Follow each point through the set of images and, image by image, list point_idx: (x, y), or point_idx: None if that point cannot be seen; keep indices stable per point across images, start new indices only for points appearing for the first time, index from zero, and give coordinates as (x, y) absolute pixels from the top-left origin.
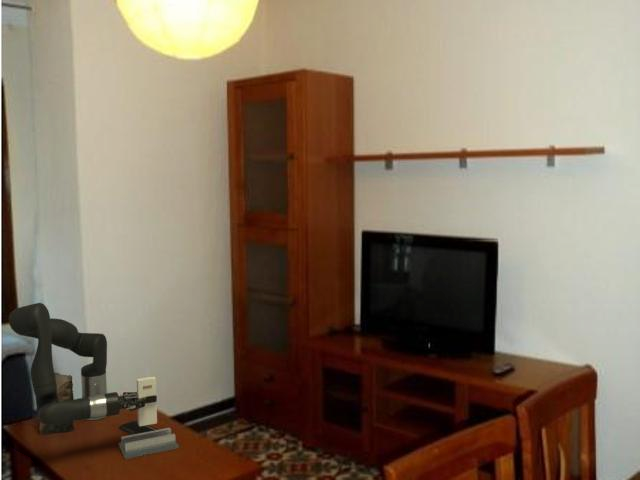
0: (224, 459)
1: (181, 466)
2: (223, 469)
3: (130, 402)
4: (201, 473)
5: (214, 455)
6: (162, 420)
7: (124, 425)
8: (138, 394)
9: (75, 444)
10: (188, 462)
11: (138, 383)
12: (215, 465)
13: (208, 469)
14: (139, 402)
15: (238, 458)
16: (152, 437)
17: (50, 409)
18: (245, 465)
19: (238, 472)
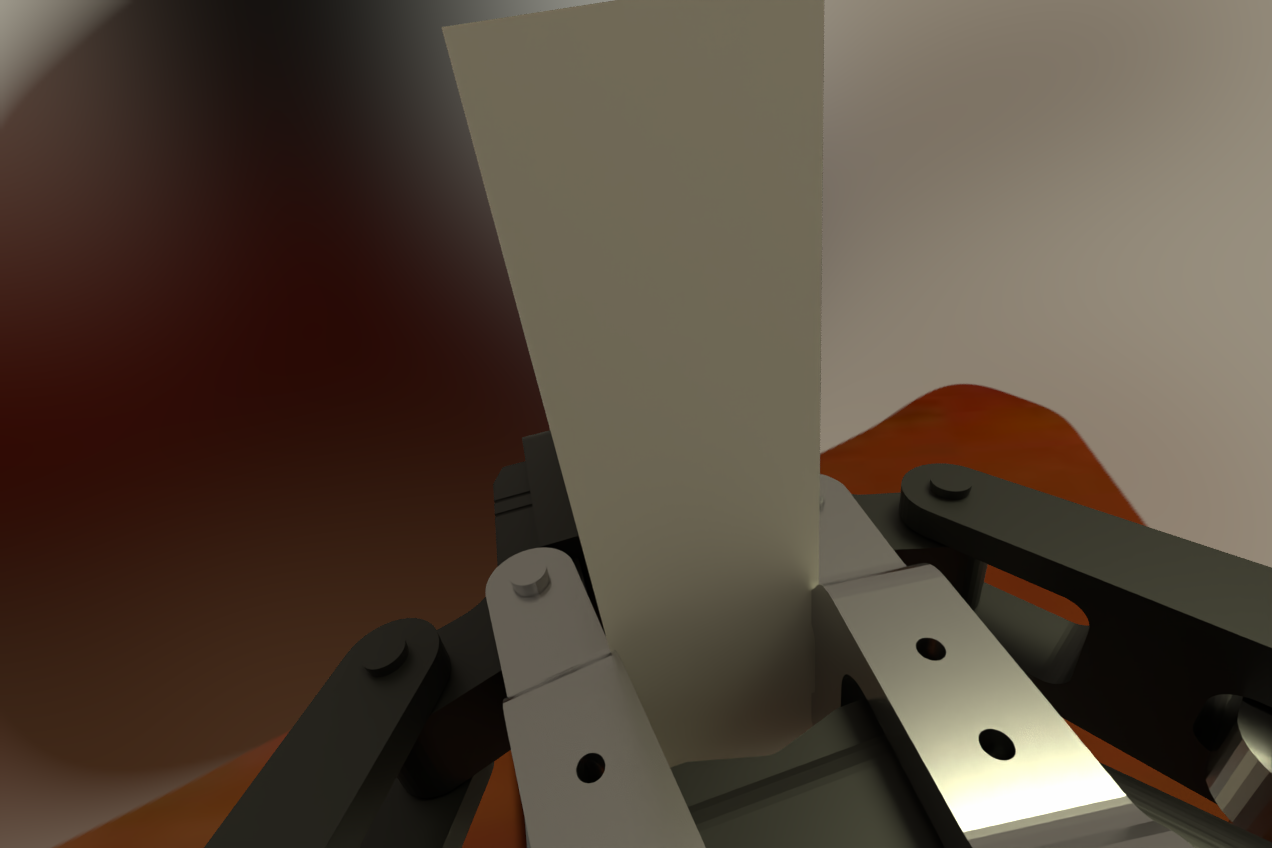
0: (912, 455)
1: (1075, 617)
2: (1029, 449)
3: (1268, 844)
4: (1125, 516)
5: (870, 489)
6: (154, 840)
7: None
8: (804, 528)
9: None
10: (996, 586)
11: (820, 115)
12: (994, 476)
13: (1056, 495)
14: (1134, 551)
15: (892, 420)
16: None
17: None
18: (959, 400)
19: (1039, 410)
